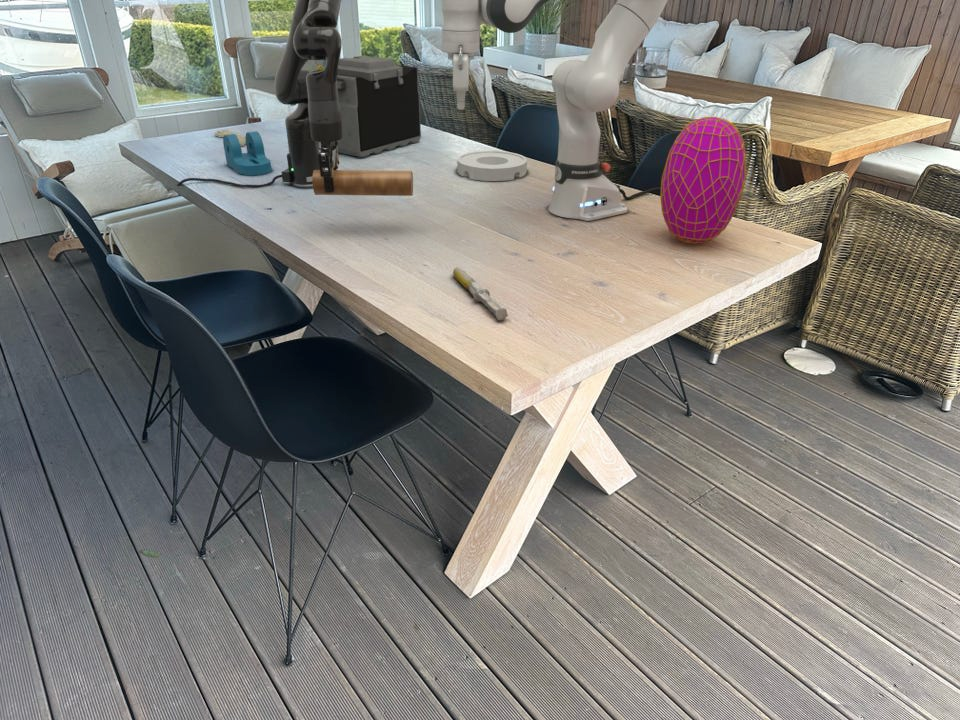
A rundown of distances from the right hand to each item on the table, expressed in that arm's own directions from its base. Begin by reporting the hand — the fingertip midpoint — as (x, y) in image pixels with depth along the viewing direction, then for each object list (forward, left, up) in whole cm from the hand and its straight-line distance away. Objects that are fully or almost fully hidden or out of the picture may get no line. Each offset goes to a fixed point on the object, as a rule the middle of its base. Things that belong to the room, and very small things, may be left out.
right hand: (461, 105), depth 168 cm
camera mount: (+47, -76, -31) cm, 94 cm away
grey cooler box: (+1, -94, -31) cm, 99 cm away
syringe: (+13, +44, -31) cm, 55 cm away
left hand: (+32, -6, -19) cm, 38 cm away
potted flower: (+6, -143, -31) cm, 147 cm away
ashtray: (-28, -46, -31) cm, 62 cm away
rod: (+25, -3, -21) cm, 33 cm away
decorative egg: (-51, +32, -31) cm, 67 cm away
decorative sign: (+47, -122, -31) cm, 135 cm away
